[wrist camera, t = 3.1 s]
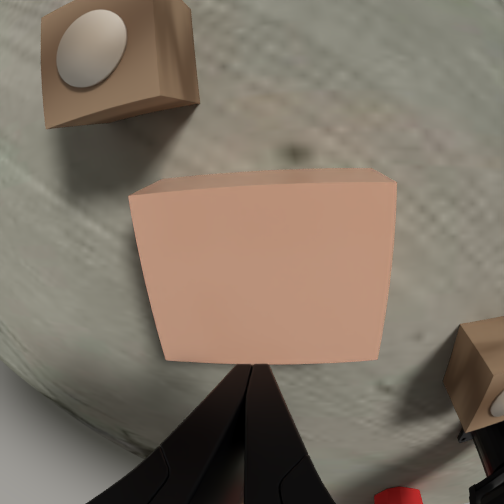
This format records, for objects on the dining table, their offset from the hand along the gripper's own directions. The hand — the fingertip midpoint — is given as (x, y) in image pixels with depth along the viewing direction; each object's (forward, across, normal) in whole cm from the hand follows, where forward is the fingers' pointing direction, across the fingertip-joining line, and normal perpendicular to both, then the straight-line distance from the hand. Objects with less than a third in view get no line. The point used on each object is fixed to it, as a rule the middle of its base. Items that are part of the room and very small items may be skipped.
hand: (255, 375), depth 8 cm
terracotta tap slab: (+9, 0, 0) cm, 9 cm away
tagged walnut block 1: (+9, +5, -10) cm, 14 cm away
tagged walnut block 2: (+9, -14, +8) cm, 18 cm away
